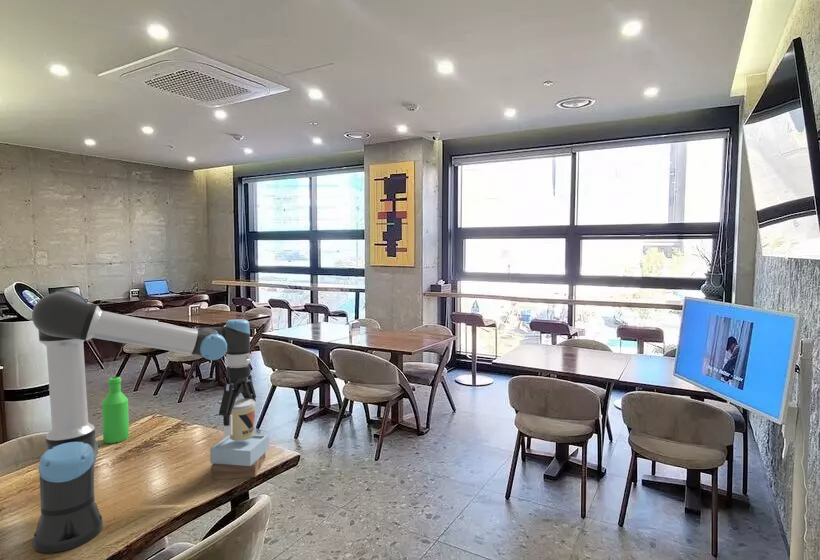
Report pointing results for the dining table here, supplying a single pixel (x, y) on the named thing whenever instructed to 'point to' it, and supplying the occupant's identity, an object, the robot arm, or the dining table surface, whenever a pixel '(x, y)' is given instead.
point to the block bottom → (236, 470)
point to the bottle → (115, 413)
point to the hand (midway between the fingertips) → (238, 427)
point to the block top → (239, 450)
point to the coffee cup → (243, 419)
